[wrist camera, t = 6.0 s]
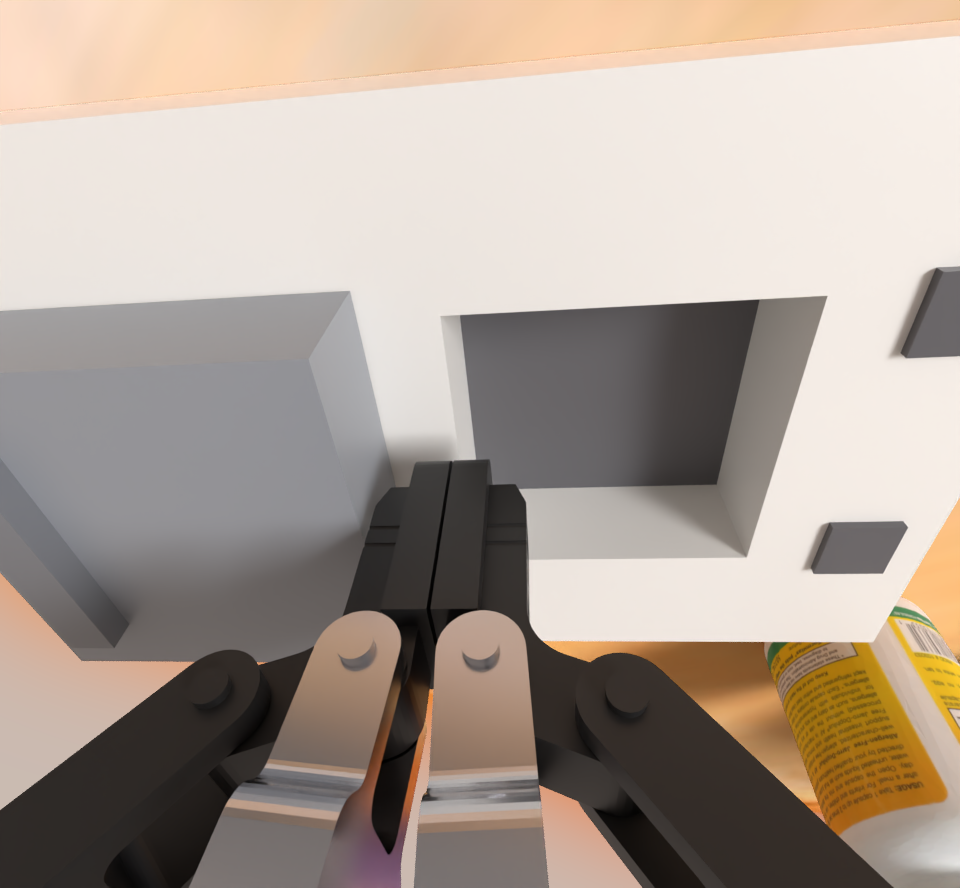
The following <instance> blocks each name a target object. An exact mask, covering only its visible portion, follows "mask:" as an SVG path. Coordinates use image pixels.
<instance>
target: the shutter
mask: <svg viewBox="0 0 960 888" xmlns="http://www.w3.org/2000/svg"><path fill="white" fill-rule="evenodd" d="M391 487H396V486H395V481H394V477H393V473H392V469H391V464H390V460H389V456H388V451H387V447H386V443H385V439H384V434H383V430H382V426H381V421H380V417H379V413H378V409H377V404H376V400H375V396H374V392H373V387H372V383H371V379H370V374H369V370H368V366H367V362H366V357H365V353H364V349H363V344H362V340H361V336H360V332H359V327H358V323H357V319H356V314H355V310H354V306H353V302H352V297H351V293H350V291H340V292H322V293H305V294H288V295H271V296H253V297H236V298H219V299H201V300H184V301H167V302H149V303H132V304H115V305H98V306H80V307H63V308H46V309H28V310H11V311H0V573H1V574H2V575H3V576H4V577H5V578H6V579H7V580H8V581H9V583H10V584H11V585H12V586H13V587H14V588H15V589H16V590H17V591H18V592H19V593H20V594H21V595H22V597H23V598H24V599H25V600H26V601H27V602H28V603H29V604H30V605H31V606H32V607H33V609H34V610H35V611H36V612H37V613H38V614H39V615H40V616H41V617H42V618H43V619H44V620H45V621H46V623H47V624H48V625H49V626H50V627H51V628H52V629H53V630H54V631H55V632H56V633H57V635H58V636H59V637H60V638H61V639H62V640H63V641H64V642H65V643H66V644H67V645H68V646H69V647H70V649H71V650H72V651H73V652H74V653H75V654H76V655H77V656H78V657H79V658H80V659H81V660H82V661H176V662H179V661H180V662H181V661H182V662H196V661H197V660H199V659H201V658H203V657H205V656H206V655H209V654H211V653H214V652H218V651H222V650H230V649H231V650H240V651H244V652H246V653H248V654H249V655H251V656H252V657H253V658H254V659H255V661H256V662H271V661H274V660H278V659H281V658H284V657H288V656H291V655H294V654H297V653H300V652H303V651H305V650H307V649H309V648H311V647H313V646H315V644H316V642H317V640H318V638H319V637H320V635H321V634H322V633H323V631H324V630H325V629H326V628H327V627H328V626H329V625H331V624H332V623H333V622H334V621H336V620H337V619H339V618H341V617H342V616H343V613H344V610H345V607H346V604H347V600H348V597H349V594H350V590H351V587H352V584H353V580H354V577H355V573H356V570H357V567H358V563H359V560H360V556H361V553H362V550H363V547H365V540H366V536H367V533H368V530H370V523H371V519H372V516H373V513H374V509H375V506H376V504H377V503H378V502H379V501H380V500H381V499H382V497H383V496H384V495H385V494H386V493H387V491H388V490H389V489H390V488H391Z"/></svg>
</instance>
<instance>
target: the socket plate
mask: <svg viewBox="0 0 960 888" xmlns="http://www.w3.org/2000/svg"><path fill="white" fill-rule="evenodd" d="M340 291H350V293H351V297H352V302H353V306H354V310H355V314H356V319H357V323H358V327H359V332H360V336H361V340H362V344H363V349H364V353H365V357H366V362H367V366H368V370H369V374H370V379H371V383H372V387H373V392H374V396H375V400H376V404H377V409H378V413H379V417H380V421H381V426H382V430H383V434H384V439H385V443H386V447H387V451H388V456H389V460H390V464H391V469H392V473H393V477H394V481H395V486H396V487H409V485H410V481H411V477H412V473H413V468H414V465H415V463H416V462H422V461H452V462H453V461H454V460H483V459H489V460H490V464H491V473H492V483H493V485H498V484H516V486H517V487H518V489H519V491H520V493H521V494H522V496H523V498H524V499H525V501H526V509H527V528H528V548H529V609H530V624H531V627H532V629H533V630H534V632H535V633H536V635H537V636H538V637H539V638H540V639H541V640H542V641H677V642H874V640H875V638H876V637H877V635H878V633H879V632H880V630H881V628H882V627H883V625H884V623H885V622H886V620H887V618H888V617H889V615H890V613H891V611H892V610H893V608H894V606H895V605H896V603H897V601H898V600H899V598H900V596H901V595H902V593H903V591H904V590H905V588H906V586H907V585H908V583H909V581H910V580H911V578H912V576H913V575H914V573H915V571H916V570H917V568H918V566H919V565H920V563H921V561H922V560H923V558H924V556H925V554H926V553H927V551H928V549H929V548H930V546H931V544H932V543H933V541H934V539H935V538H936V536H937V534H938V533H939V531H940V529H941V528H942V526H943V524H944V523H945V521H946V519H947V518H948V516H949V514H950V513H951V511H952V509H953V508H954V506H955V504H956V502H957V501H958V499H959V497H960V20H950V21H940V22H929V23H919V24H909V25H898V26H888V27H877V28H867V29H856V30H846V31H835V32H825V33H815V34H804V35H794V36H783V37H773V38H762V39H752V40H741V41H731V42H720V43H710V44H700V45H689V46H679V47H668V48H658V49H647V50H637V51H626V52H616V53H605V54H595V55H585V56H574V57H564V58H553V59H543V60H532V61H522V62H511V63H501V64H491V65H480V66H470V67H459V68H449V69H438V70H428V71H417V72H407V73H396V74H386V75H376V76H365V77H355V78H344V79H334V80H323V81H313V82H302V83H292V84H281V85H271V86H261V87H250V88H240V89H229V90H219V91H208V92H198V93H187V94H177V95H166V96H156V97H146V98H135V99H125V100H114V101H104V102H93V103H83V104H72V105H62V106H52V107H41V108H31V109H20V110H10V111H0V311H11V310H28V309H46V308H63V307H80V306H98V305H115V304H132V303H149V302H167V301H184V300H201V299H219V298H236V297H253V296H271V295H288V294H305V293H322V292H340Z"/></svg>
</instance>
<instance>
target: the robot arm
mask: <svg viewBox="0 0 960 888" xmlns="http://www.w3.org/2000/svg"><path fill="white" fill-rule="evenodd" d="M429 689H434V690H433V709H432V729H431V747H430V767H429V781H428V787H427V791H426V793H425V794H424V795H423V797H422V801H421V805H420V812H419V820H418V831H417V846H416V863H415V878H414V888H549V885H548V884H549V883H548V872H547V861H546V850H545V840H544V829H543V818H542V807H541V798H540V789H539V785H541V786H543V787H545V788H548V789H550V790H553V791H555V792H557V793H560V794H562V795H564V796H567V797H569V798H572V799H574V800H577V801H578V802H579V804H580V805H581V807H582V809H583V810H584V812H585V813H586V814H587V815H588V817H589V818H590V819H591V821H592V822H593V823H594V825H595V826H596V827H597V828H598V830H599V831H600V832H601V834H602V835H603V836H604V838H605V839H606V840H607V842H608V843H609V844H610V846H611V847H612V848H613V850H614V851H615V852H616V854H617V855H618V856H619V857H620V859H621V860H622V861H623V863H624V864H625V865H626V867H627V868H628V869H629V871H630V872H631V873H632V874H633V876H634V877H635V878H636V880H637V881H638V882H639V884H640V885H641V886H642V888H894V887H893V886H891V885H890V884H889V883H888V882H887V881H886V880H885V879H884V878H883V877H882V876H881V875H880V874H879V873H878V872H877V871H875V870H874V869H873V868H872V867H871V866H870V865H869V864H868V863H867V862H866V861H865V860H864V859H863V858H862V857H860V856H859V855H858V854H857V853H856V852H855V851H854V850H853V849H852V848H851V847H850V846H849V845H848V844H847V843H846V842H844V841H843V840H842V839H841V838H840V837H839V836H838V835H837V834H836V833H835V832H834V831H833V830H832V829H831V828H829V827H828V826H827V825H826V824H825V823H824V822H823V821H822V820H821V819H820V818H819V817H818V816H817V815H816V814H815V813H813V812H812V811H811V810H810V809H809V808H808V807H807V806H806V805H805V804H804V803H803V802H802V801H801V800H800V799H798V798H797V797H796V796H795V795H794V794H793V793H792V792H791V791H790V790H789V789H788V788H787V787H786V786H785V785H784V784H782V783H781V782H780V781H779V780H778V779H777V778H776V777H775V776H774V775H773V774H772V773H771V772H770V771H769V770H767V769H766V768H765V767H764V766H763V765H762V764H761V763H760V762H759V761H758V760H757V759H756V758H755V757H754V756H753V755H751V754H750V753H749V752H748V751H747V750H746V749H745V748H744V747H743V746H742V745H741V744H740V743H739V742H738V741H736V740H735V739H734V738H733V737H732V736H731V735H730V734H729V733H728V732H727V731H726V730H725V729H724V728H723V727H722V726H720V725H719V724H718V723H717V722H716V721H715V720H714V719H713V718H712V717H711V716H710V715H709V714H708V713H707V712H705V711H704V710H703V709H702V708H701V707H700V706H699V705H698V704H697V703H696V702H695V701H694V700H693V699H692V698H691V697H689V696H688V695H687V694H686V693H685V692H684V691H683V690H682V689H681V688H680V687H679V686H678V685H677V684H676V683H674V682H673V681H672V680H671V679H670V678H669V677H668V676H667V675H666V674H665V673H664V672H663V671H662V670H661V669H659V668H658V667H657V666H656V665H654V664H653V663H651V662H650V661H648V660H646V659H644V658H642V657H639V656H636V655H632V654H627V653H611V654H607V655H603V656H601V657H598V658H596V659H595V660H593V661H592V662H587V661H583V660H580V659H577V658H574V657H571V656H568V655H565V654H563V653H560V652H558V651H556V650H554V649H552V648H551V647H549V646H548V645H546V644H545V643H544V642H543V641H542V640H541V639H540V638H539V637H538V636H537V635H536V633H535V632H534V630H533V629H532V627H531V624H530V609H529V548H528V528H527V509H526V501H525V499H524V498H523V496H522V494H521V493H520V491H519V489H518V487H517V486H516V484H498V485H493V483H492V473H491V464H490V460H489V459H483V460H454V461H453V462H452V461H422V462H416V463H415V465H414V468H413V473H412V477H411V481H410V485H409V487H391V488H390V489H389V490H388V491H387V493H386V494H385V495H384V496H383V497H382V499H381V500H380V501H379V502H378V503H377V504H376V506H375V509H374V513H373V516H372V519H371V523H370V530H368V533H367V536H366V540H365V547H363V550H362V553H361V556H360V560H359V563H358V567H357V570H356V573H355V577H354V580H353V584H352V587H351V590H350V594H349V597H348V600H347V604H346V607H345V610H344V613H343V616H342V617H341V618H339V619H337V620H336V621H334V622H333V623H332V624H331V625H329V626H328V627H327V628H326V629H325V630H324V631H323V633H322V634H321V635H320V637H319V638H318V640H317V642H316V644H315V646H313V647H311V648H309V649H307V650H305V651H303V652H300V653H297V654H294V655H291V656H288V657H284V658H281V659H278V660H274V661H271V662H268V663H265V664H261V665H258V664H257V662H256V661H255V659H254V658H253V657H252V656H251V655H249V654H248V653H246V652H244V651H240V650H231V649H230V650H222V651H218V652H214V653H211V654H209V655H206V656H205V657H203V658H201V659H199V660H197V661H196V662H194V663H193V664H192V665H190V666H189V667H188V668H186V669H185V670H184V671H182V672H181V673H180V674H179V675H177V676H176V677H174V678H173V679H172V680H171V681H169V682H168V683H167V684H165V685H164V686H163V687H161V688H160V689H159V690H157V691H156V692H155V693H153V694H152V695H151V696H150V697H148V698H147V699H146V700H144V701H143V702H142V703H140V704H139V705H138V706H136V707H135V708H134V709H132V710H131V711H130V712H129V713H127V714H126V715H125V716H123V717H122V718H121V719H119V720H118V721H117V722H115V723H114V724H113V725H111V726H110V727H109V728H107V729H106V730H105V731H104V732H102V733H101V734H100V735H98V736H97V737H96V738H94V739H93V740H92V741H90V742H89V743H88V744H86V745H85V746H84V747H83V748H81V749H80V750H79V751H77V752H76V753H75V754H73V755H72V756H71V757H69V758H68V759H67V760H65V761H64V762H63V763H62V764H60V765H59V766H58V767H56V768H55V769H54V770H52V771H51V772H50V773H48V774H47V775H46V776H44V777H43V778H42V779H41V780H39V781H38V782H37V783H35V784H34V785H33V786H31V787H30V788H29V789H27V790H26V791H25V792H23V793H22V794H21V795H20V796H18V797H17V798H16V799H14V800H13V801H12V802H10V803H9V804H8V805H6V806H5V807H4V808H2V809H1V810H0V888H401V858H402V851H403V846H404V841H405V836H406V831H407V826H408V822H409V817H410V812H411V807H412V802H413V797H414V792H415V787H416V782H417V778H418V773H419V768H420V763H421V758H422V753H423V748H424V744H425V739H426V732H427V727H426V720H425V718H426V711H427V704H428V696H429Z"/></svg>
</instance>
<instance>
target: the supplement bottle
mask: <svg viewBox="0 0 960 888" xmlns="http://www.w3.org/2000/svg"><path fill="white" fill-rule="evenodd" d="M764 653H765V657H766V660H767V663H768V666H769V669H770V672H771V674H772V677H773V680H774V682H775V685H776V688H777V691H778V694H779V697H780V700H781V702H782V705H783V708H784V711H785V713H786V716H787V718H788V721H789V724H790V727H791V729H792V732H793V735H794V737H795V740H796V743H797V746H798V748H799V751H800V754H801V756H802V759H803V762H804V765H805V767H806V770H807V773H808V776H809V778H810V781H811V784H812V786H813V789H814V792H815V795H816V797H817V800H818V803H819V805H820V808H821V811H822V813H823V816H824V819H825V822H826V824H827V826H828V827H829V828H831V829H832V830H833V831H834V832H835V833H836V834H837V835H838V836H839V837H840V838H841V839H842V840H843V841H844V842H846V843H847V844H848V845H849V846H850V847H851V848H852V849H853V850H854V851H855V852H856V853H857V854H858V855H859V856H860V857H862V858H863V859H864V860H865V861H866V862H867V863H868V864H869V865H870V866H871V867H872V868H873V869H874V870H875V871H877V872H878V873H879V874H880V875H881V876H882V877H883V878H884V879H885V880H886V881H887V882H888V883H889V884H890V885H891V886H893V887H894V888H960V664H959V663H958V661H957V659H956V658H955V656H954V655H953V653H952V652H951V650H950V649H949V647H948V646H947V644H946V643H945V641H944V640H943V638H942V637H941V635H940V633H939V632H938V631H937V629H936V628H935V627H934V625H933V624H932V622H931V621H930V619H929V618H928V616H927V615H926V614H925V613H924V612H923V611H922V610H921V609H920V608H919V607H918V606H917V605H915V604H914V603H912V602H911V601H909V600H907V599H905V598H903V597H901V596H900V598H899V600H898V601H897V603H896V605H895V606H894V608H893V610H892V611H891V613H890V615H889V617H888V618H887V620H886V622H885V623H884V625H883V627H882V628H881V630H880V632H879V633H878V635H877V637H876V638H875V640H874V642H765V644H764Z"/></svg>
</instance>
